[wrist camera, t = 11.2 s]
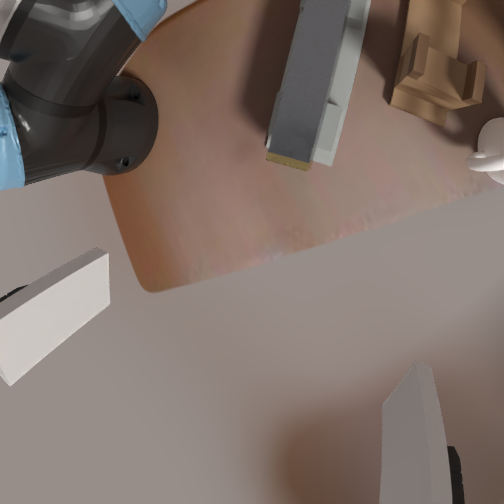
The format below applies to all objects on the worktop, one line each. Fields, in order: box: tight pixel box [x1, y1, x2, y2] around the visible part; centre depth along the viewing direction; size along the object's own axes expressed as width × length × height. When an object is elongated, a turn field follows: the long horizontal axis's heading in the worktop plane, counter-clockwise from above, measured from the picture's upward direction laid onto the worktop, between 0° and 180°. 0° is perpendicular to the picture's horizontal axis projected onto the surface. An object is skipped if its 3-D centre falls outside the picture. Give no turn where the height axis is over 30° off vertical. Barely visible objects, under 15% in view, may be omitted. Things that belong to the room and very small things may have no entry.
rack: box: [389, 0, 487, 127], centre depth 18 cm, size 7×24×10 cm, turn 167°
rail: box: [266, 0, 352, 171], centre depth 24 cm, size 26×4×4 cm, turn 167°
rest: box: [266, 0, 371, 166], centre depth 27 cm, size 8×24×3 cm, turn 167°
